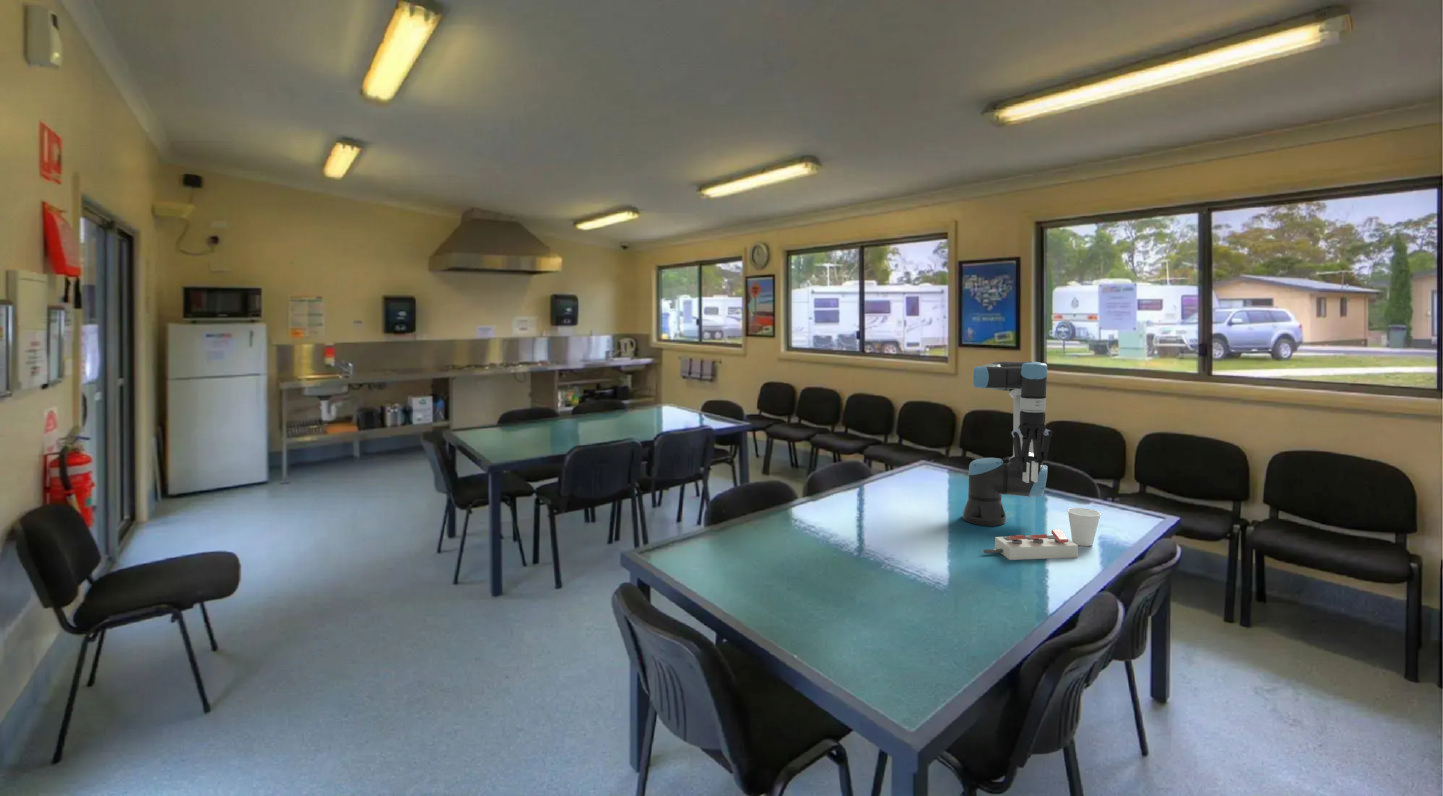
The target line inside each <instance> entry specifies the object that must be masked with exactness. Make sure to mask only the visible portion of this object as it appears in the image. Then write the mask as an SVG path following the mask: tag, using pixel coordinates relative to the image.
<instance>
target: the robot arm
mask: <svg viewBox="0 0 1443 796" xmlns="http://www.w3.org/2000/svg"><path fill="white" fill-rule="evenodd" d="M1048 373H1049V372H1048V365H1047V363H1045V362H1044V363H1043V362H1039V361H1030V360H1029V361H995V362H990V363H985V364H983V365H981V366H975V367H973V375H972V379H973V380H972V381H973V382H972V387H974V388H975V389H988V390H993V391H1002V392H1003V391H1004V392H1009V393H1008V394H1009V396H1010V398H1012V399H1013V419H1012V420H1013V430H1011V431H1010V435H1011V436H1012V444H1013V445H1012V456H1011V457H1009V458H1008V462H1007V463H1005V462H1004V461H1003V459H1002V458H999V457H982V458H977V459H974V460H972V461H971V462H970V463H969V465H968V472H967V474H968V486H967V487H968V490H967V491H968V493H967V501H966V503H965V505H964V508H963V511H962V520H964V521H965V522H967V523H969V524H973V525H978V526H986V527H987V526H988V527H991V526H994V527H995V526H1001V525H1005V523H1006V522H1007V515H1006V512H1005V509H1004V506H1003V502H1002V497H1003V495H1004V496H1005V495H1006V496H1019V497H1020V496H1021V497H1028V498H1032V497H1034V498H1035V497H1036V498H1037V497H1038V498H1039V497H1042V496H1043V495H1044V493H1045V490H1046V484H1047V479H1048V468H1049V467H1048V465H1046V464H1044V461H1047V460H1048V455H1049V450H1050V445H1051V444H1050V443H1051V438H1052V436H1053V435H1054V431H1053V430H1050V429H1047V427H1046V425H1045V423H1046V415H1047V414H1046V409H1047V408H1046V407H1047V405H1046V404H1047V386H1048V385H1047V384H1048ZM1042 435H1043V436H1042Z"/></svg>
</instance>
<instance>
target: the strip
mask: <svg viewBox="0 0 1443 796" xmlns="http://www.w3.org/2000/svg"><path fill="white" fill-rule="evenodd" d="M994 538H995V540H994V548H989V549H988V548H985V549H983V550H982V553H983V554H994V553H995V554H998V553H999V554H1001V555H1002V556H1004V557H1005V558H1007V559H1008V560H1009V561H1017V560H1020V561H1021V560H1042V559H1043V560H1044V559H1047V560H1048V559H1069V558H1070V559H1071V558H1078V553H1079V552H1078V550H1079V545H1077V544H1075V543H1073V542H1072V540H1070V539H1069V540H1068V542H1062V543H1059V542H1058V541H1057V539H1056V538H1055V537H1054V535H1053V534H1047V538H1042V539H1031V538H1030V535H1025V539H1013V540H1009V536H995V537H994Z"/></svg>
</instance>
